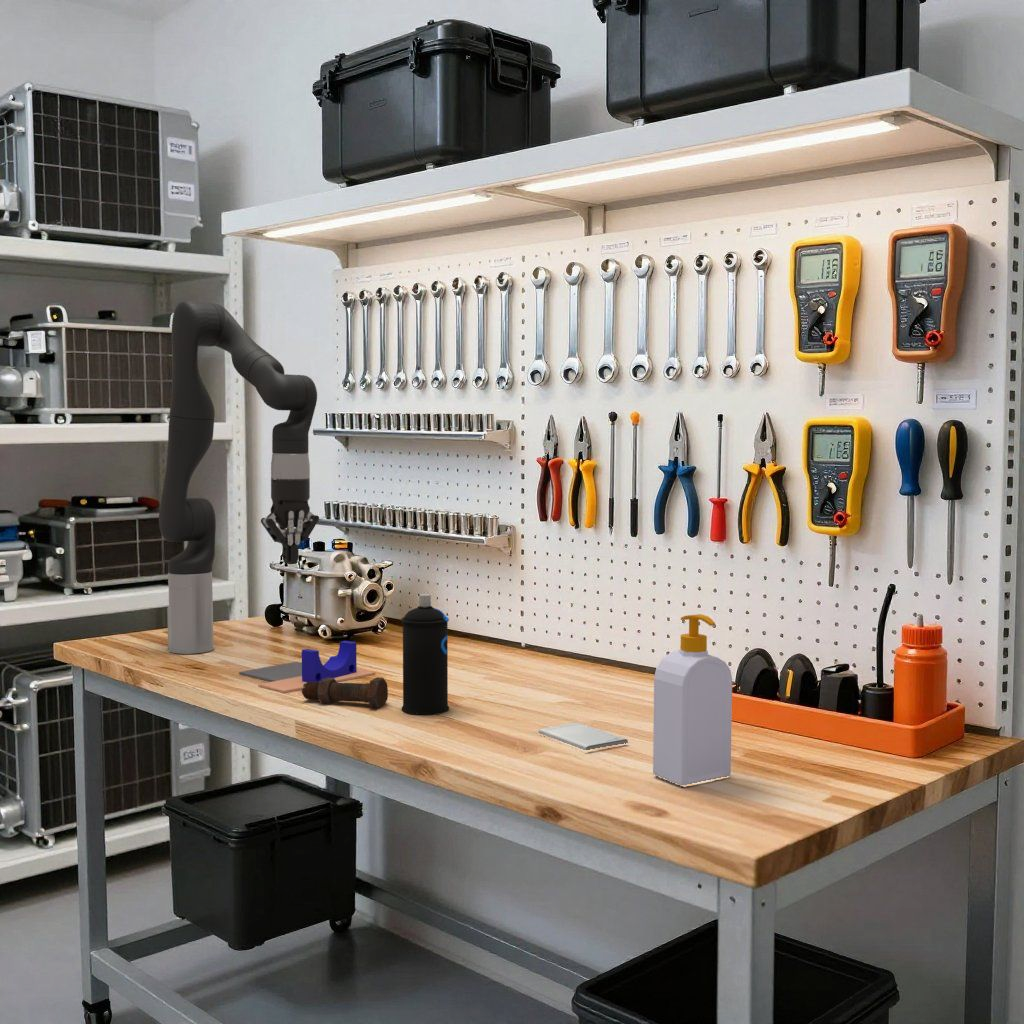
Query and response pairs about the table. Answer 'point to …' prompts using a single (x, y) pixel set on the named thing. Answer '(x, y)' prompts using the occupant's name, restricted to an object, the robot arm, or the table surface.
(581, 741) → the hard drive
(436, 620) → the aerosol can
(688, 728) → the soap bottle
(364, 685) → the bolt
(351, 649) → the blue cradle block
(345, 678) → the t mat
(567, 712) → the table surface
